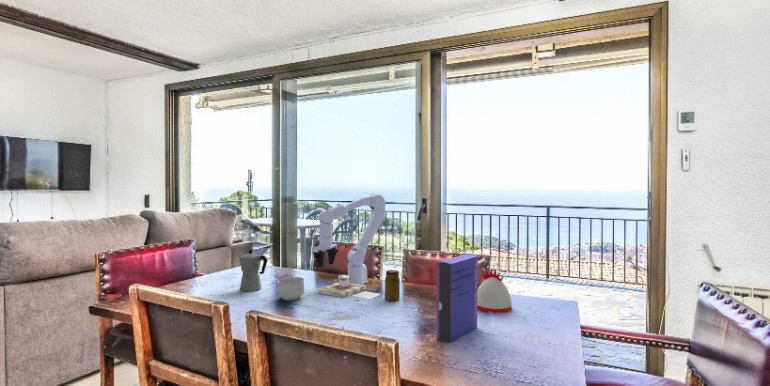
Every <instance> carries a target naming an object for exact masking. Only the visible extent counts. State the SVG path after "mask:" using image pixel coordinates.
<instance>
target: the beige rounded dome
mask: <svg viewBox="0 0 770 386" xmlns="http://www.w3.org/2000/svg"><path fill="white" fill-rule="evenodd" d="M481 272H482V275H483V278H484V280H483V281H482V282H481V284H480V285H479V286H477V311H481V312H485V313H488V314H489V313H490V314H505V313H510V312H511V311H512V309H513V308H512V307H513V304H512V299H511V296H510V293H509V290H508V288H507V286H506V284H505V283H504V281H503V279H504V275H503V276H501V278H500V275H501V272H498V273H497V269H496V268H495V269H494V270H493V268H491V269H490V271H489V269H488V268H485V272H484V271H481Z"/></svg>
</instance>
